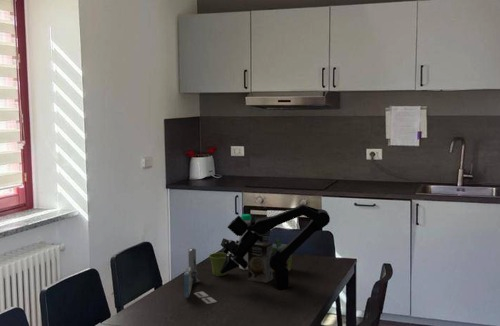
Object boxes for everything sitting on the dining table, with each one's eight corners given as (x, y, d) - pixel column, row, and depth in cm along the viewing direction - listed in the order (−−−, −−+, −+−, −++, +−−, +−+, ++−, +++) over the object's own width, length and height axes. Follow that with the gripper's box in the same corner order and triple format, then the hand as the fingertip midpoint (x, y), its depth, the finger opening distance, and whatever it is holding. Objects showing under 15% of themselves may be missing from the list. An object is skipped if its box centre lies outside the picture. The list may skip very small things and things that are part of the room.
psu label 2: (216, 302, 240) (216, 301, 240) (207, 304, 238) (207, 302, 238) (210, 297, 245) (210, 296, 245) (201, 299, 243) (201, 298, 243)
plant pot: (231, 271, 282) (231, 252, 281) (228, 277, 272) (228, 258, 271) (211, 271, 283) (210, 252, 282) (207, 277, 273) (207, 258, 272)
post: (200, 282, 266) (199, 250, 265) (189, 283, 264) (188, 251, 263) (196, 279, 271) (195, 247, 269) (185, 280, 268) (184, 248, 267)
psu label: (208, 296, 247) (208, 295, 247) (199, 298, 245) (199, 296, 245) (202, 292, 252) (202, 291, 252) (193, 293, 251) (193, 292, 250)
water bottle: (252, 270, 283) (252, 216, 280) (237, 269, 284) (236, 215, 281) (255, 266, 290) (255, 213, 287) (241, 265, 291) (240, 213, 288)
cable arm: (190, 281, 265) (189, 259, 264) (194, 281, 265) (193, 259, 264) (184, 297, 243) (184, 274, 242) (188, 297, 243) (188, 274, 242)
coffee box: (247, 280, 268) (247, 243, 266) (254, 276, 274) (254, 240, 272) (266, 283, 264) (266, 245, 262) (273, 279, 269) (272, 242, 268)
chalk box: (285, 274, 276) (284, 241, 274) (266, 272, 280) (265, 240, 278) (292, 269, 284) (292, 237, 283) (274, 267, 288) (273, 235, 287)
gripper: (225, 227, 263) (201, 255, 260) (239, 236, 245) (213, 266, 243) (243, 243, 266) (219, 271, 264) (258, 253, 248) (233, 283, 246)
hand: (221, 273), depth 254 cm, fingers closed
